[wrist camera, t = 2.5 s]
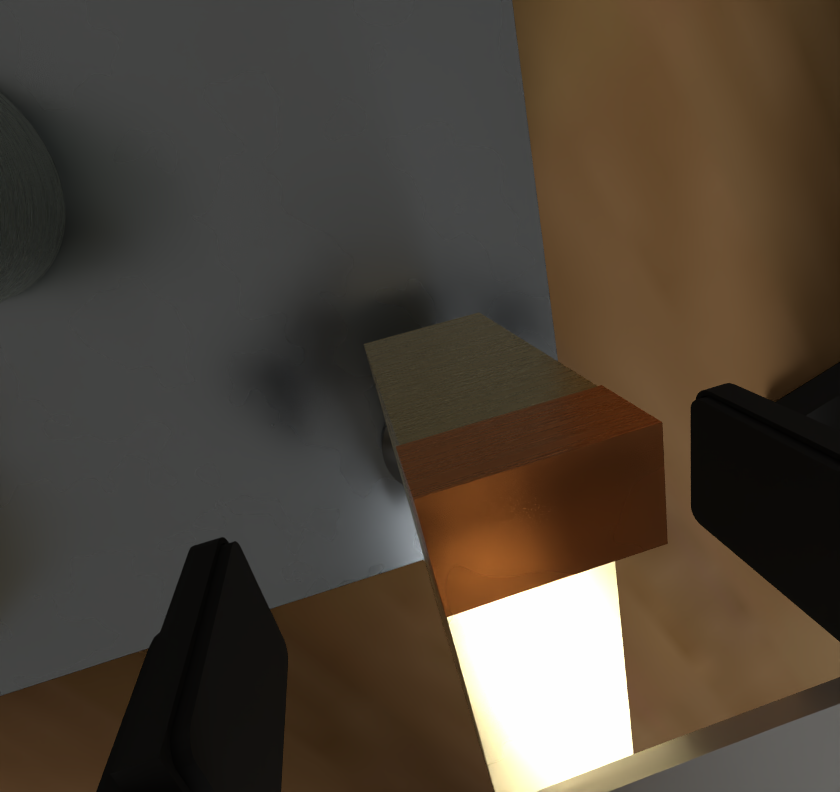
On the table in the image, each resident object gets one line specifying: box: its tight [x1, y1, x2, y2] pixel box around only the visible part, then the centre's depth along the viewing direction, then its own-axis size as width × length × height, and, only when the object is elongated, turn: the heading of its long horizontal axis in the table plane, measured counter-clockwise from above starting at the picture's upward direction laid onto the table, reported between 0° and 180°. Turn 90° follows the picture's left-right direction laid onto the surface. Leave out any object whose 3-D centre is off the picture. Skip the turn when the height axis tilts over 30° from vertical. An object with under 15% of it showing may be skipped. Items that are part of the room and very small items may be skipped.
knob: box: [364, 312, 668, 792], centre depth 10 cm, size 8×3×8 cm, turn 13°
